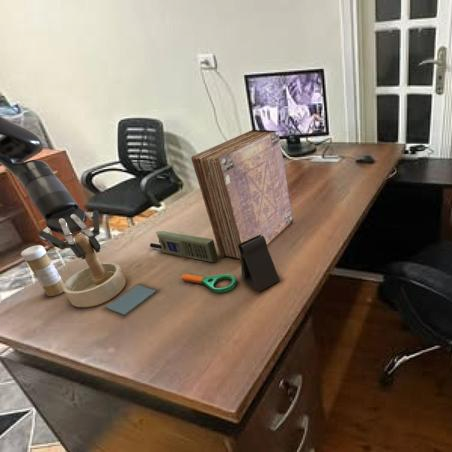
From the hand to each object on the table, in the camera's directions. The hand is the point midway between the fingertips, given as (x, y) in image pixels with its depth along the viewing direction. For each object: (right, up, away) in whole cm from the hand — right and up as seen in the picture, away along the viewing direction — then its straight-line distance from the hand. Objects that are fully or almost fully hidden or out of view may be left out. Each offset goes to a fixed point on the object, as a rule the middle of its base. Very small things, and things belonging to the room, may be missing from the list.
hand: (91, 254), depth 86 cm
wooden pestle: (-1, -7, +6) cm, 9 cm away
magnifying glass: (+28, -8, +4) cm, 29 cm away
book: (+37, +3, +22) cm, 43 cm away
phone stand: (+41, -7, +4) cm, 42 cm away
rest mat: (+9, -12, +1) cm, 15 cm away
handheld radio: (+15, -2, +18) cm, 24 cm away
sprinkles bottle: (-14, -11, +7) cm, 19 cm away
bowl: (-1, -10, +5) cm, 12 cm away
